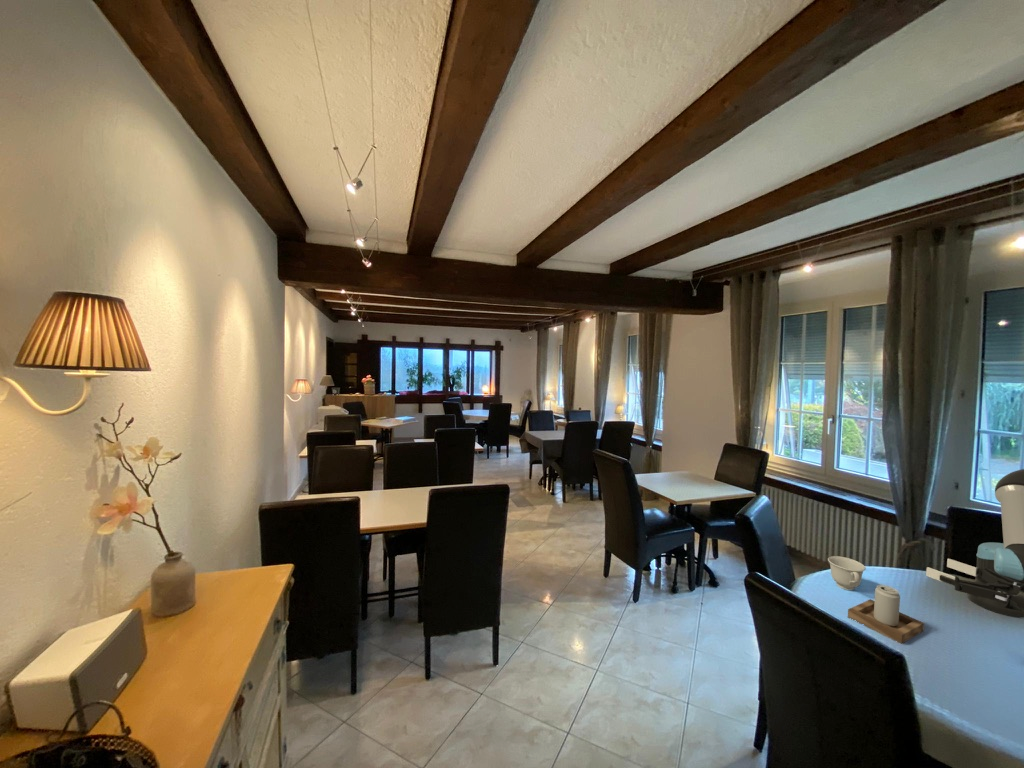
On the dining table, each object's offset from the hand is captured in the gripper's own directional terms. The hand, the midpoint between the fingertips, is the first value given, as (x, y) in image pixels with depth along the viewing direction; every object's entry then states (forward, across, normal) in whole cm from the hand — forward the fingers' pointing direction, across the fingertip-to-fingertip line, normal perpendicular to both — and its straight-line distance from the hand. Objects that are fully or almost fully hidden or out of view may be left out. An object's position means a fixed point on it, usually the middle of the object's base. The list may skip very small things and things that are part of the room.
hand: (937, 566), depth 129 cm
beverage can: (+11, -2, -25) cm, 28 cm away
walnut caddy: (+12, -2, -26) cm, 29 cm away
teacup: (+30, +11, -26) cm, 41 cm away
